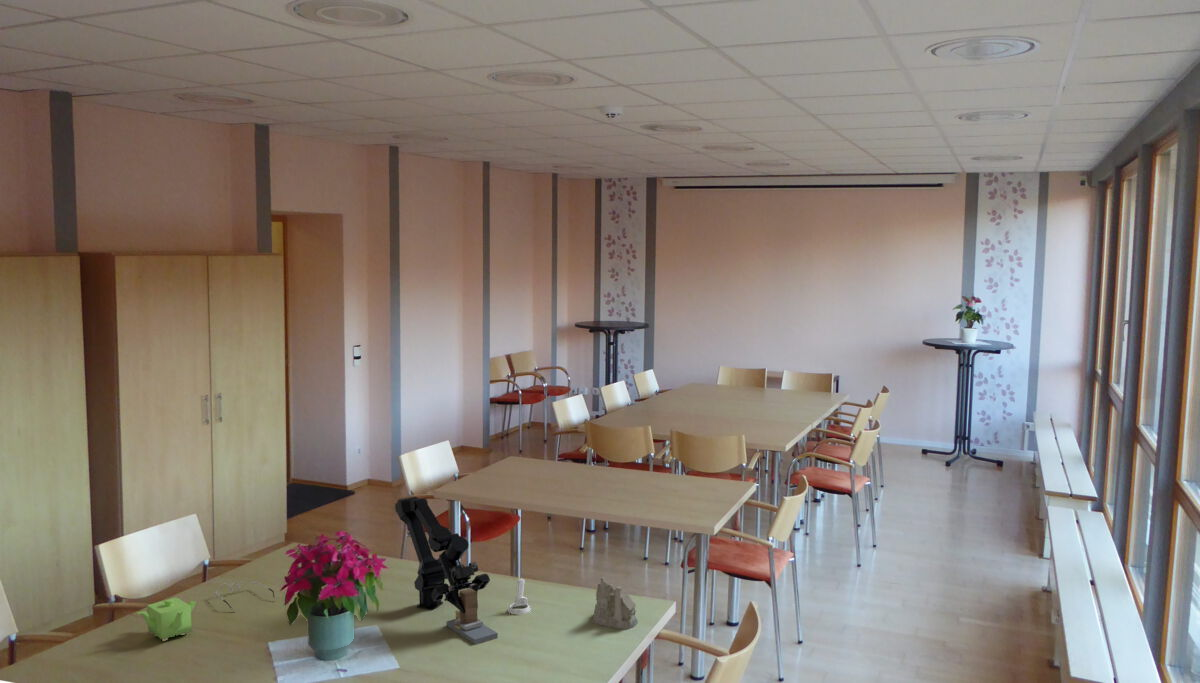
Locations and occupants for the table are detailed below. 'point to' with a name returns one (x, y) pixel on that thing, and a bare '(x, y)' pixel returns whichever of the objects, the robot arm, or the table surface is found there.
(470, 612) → the brown wooden block
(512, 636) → the table surface
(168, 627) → the kettle
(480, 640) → the tensioner track
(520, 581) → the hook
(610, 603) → the ceramic cottage
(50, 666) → the table surface
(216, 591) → the eyeglasses
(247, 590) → the table surface
